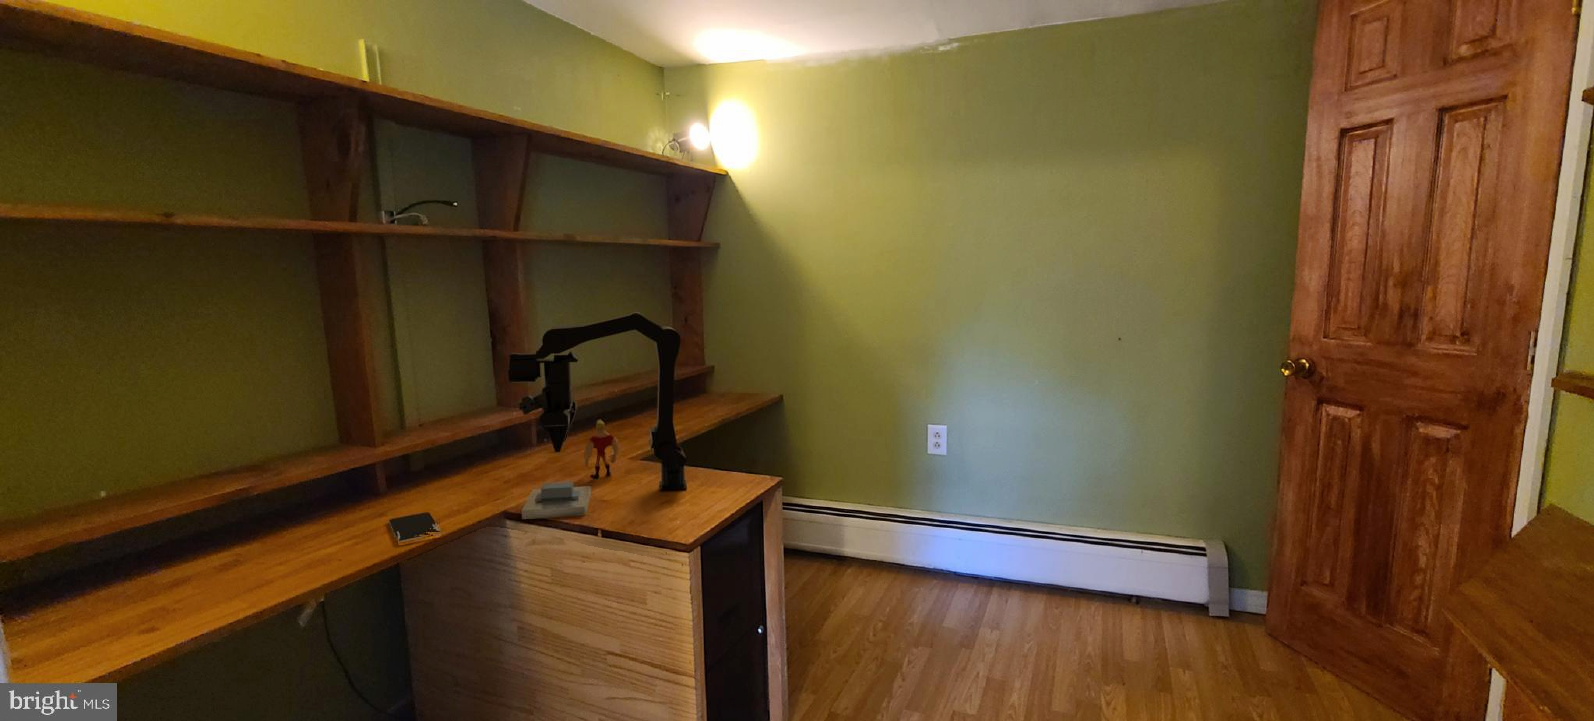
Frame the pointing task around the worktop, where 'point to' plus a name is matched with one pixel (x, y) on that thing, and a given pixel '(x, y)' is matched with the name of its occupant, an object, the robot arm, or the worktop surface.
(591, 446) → the action figure
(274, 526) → the worktop surface
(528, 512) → the plate
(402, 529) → the smartphone
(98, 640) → the worktop surface
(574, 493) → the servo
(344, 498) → the worktop surface
